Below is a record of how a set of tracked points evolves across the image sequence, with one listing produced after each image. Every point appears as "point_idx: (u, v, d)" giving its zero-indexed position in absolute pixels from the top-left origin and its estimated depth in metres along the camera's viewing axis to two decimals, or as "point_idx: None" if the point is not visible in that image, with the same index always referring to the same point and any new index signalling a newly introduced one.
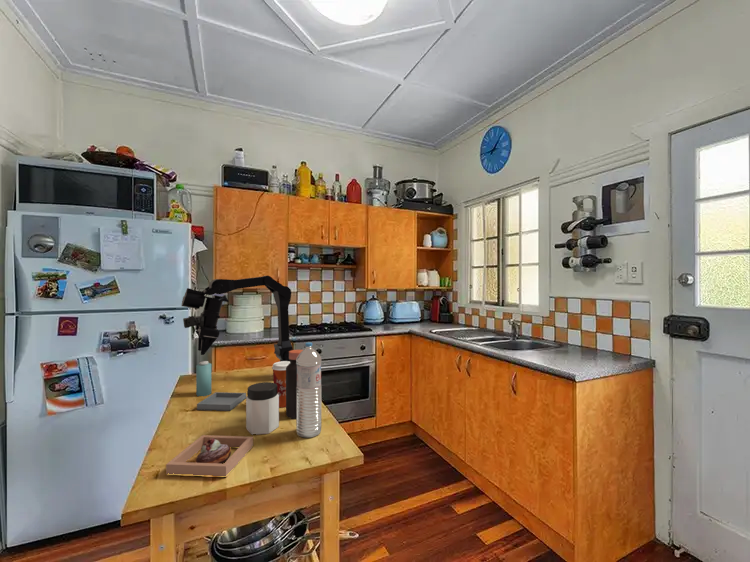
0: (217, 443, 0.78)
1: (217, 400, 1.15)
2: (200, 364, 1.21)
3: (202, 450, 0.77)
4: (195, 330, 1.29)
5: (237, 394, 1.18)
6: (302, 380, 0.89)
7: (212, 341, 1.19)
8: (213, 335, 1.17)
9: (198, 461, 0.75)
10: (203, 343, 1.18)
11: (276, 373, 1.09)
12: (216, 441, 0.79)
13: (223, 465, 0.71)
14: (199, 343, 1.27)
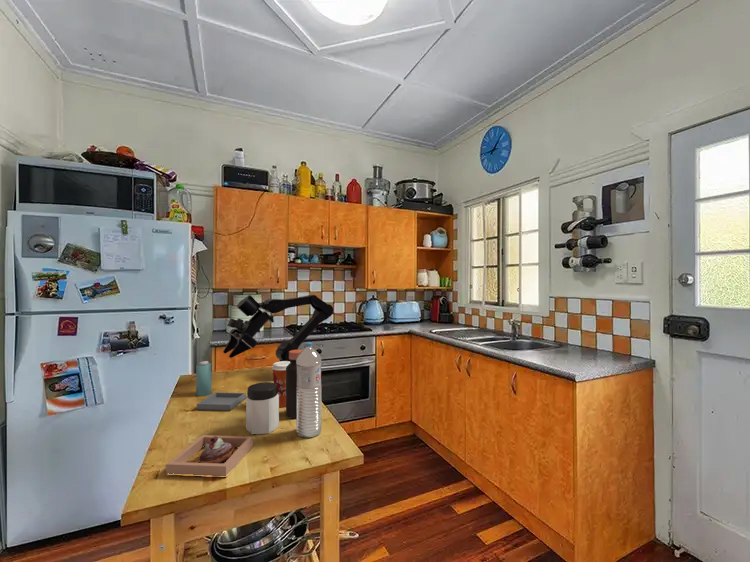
0: (220, 441, 0.79)
1: (217, 400, 1.15)
2: (200, 364, 1.21)
3: (205, 448, 0.78)
4: None
5: (237, 394, 1.18)
6: (302, 380, 0.89)
7: (245, 349, 1.26)
8: (251, 344, 1.24)
9: (201, 459, 0.76)
10: (237, 347, 1.24)
11: (276, 373, 1.09)
12: (219, 440, 0.79)
13: (223, 465, 0.71)
14: (227, 346, 1.32)
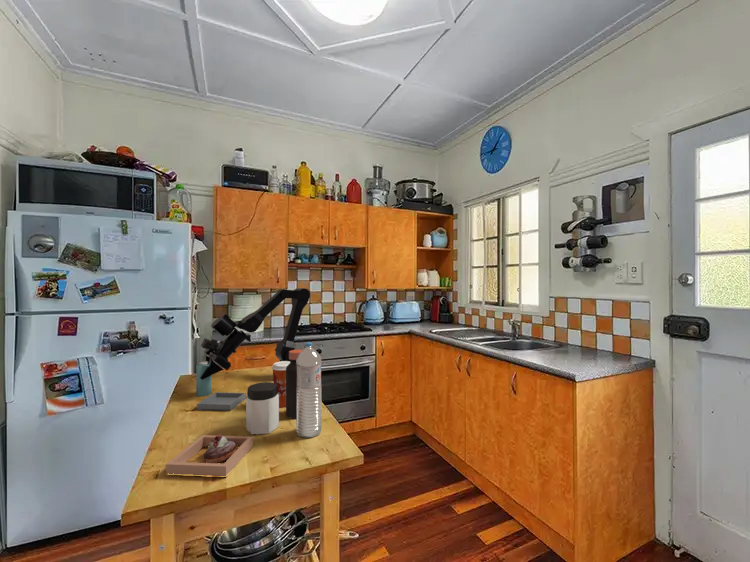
0: (224, 440, 0.80)
1: (217, 400, 1.15)
2: (200, 364, 1.21)
3: (209, 446, 0.79)
4: None
5: (237, 394, 1.18)
6: (302, 380, 0.89)
7: (217, 370, 1.21)
8: (224, 366, 1.18)
9: (206, 457, 0.77)
10: (209, 368, 1.20)
11: (276, 373, 1.09)
12: (223, 438, 0.80)
13: (223, 465, 0.71)
14: None
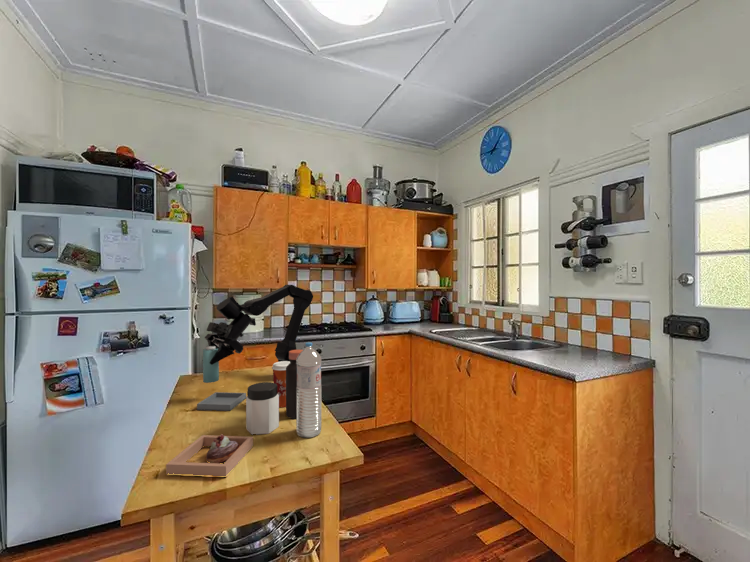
0: (226, 440, 0.80)
1: (217, 400, 1.15)
2: (208, 349, 1.15)
3: (212, 447, 0.79)
4: (207, 339, 1.22)
5: (237, 394, 1.18)
6: (302, 380, 0.89)
7: (227, 354, 1.17)
8: (238, 349, 1.15)
9: (208, 457, 0.77)
10: (219, 353, 1.15)
11: (276, 373, 1.09)
12: (226, 438, 0.80)
13: (223, 465, 0.71)
14: None
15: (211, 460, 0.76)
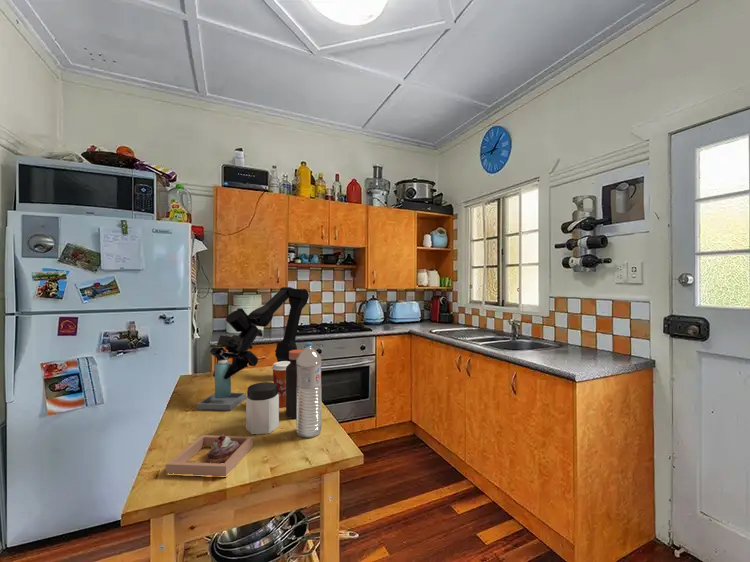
0: (228, 440, 0.80)
1: (217, 400, 1.15)
2: (220, 363, 1.11)
3: (213, 447, 0.79)
4: (215, 353, 1.17)
5: (237, 394, 1.18)
6: (302, 380, 0.89)
7: (241, 368, 1.14)
8: (254, 362, 1.13)
9: (210, 457, 0.77)
10: (233, 366, 1.12)
11: (276, 373, 1.09)
12: (227, 438, 0.80)
13: (223, 465, 0.71)
14: None
15: (213, 460, 0.76)
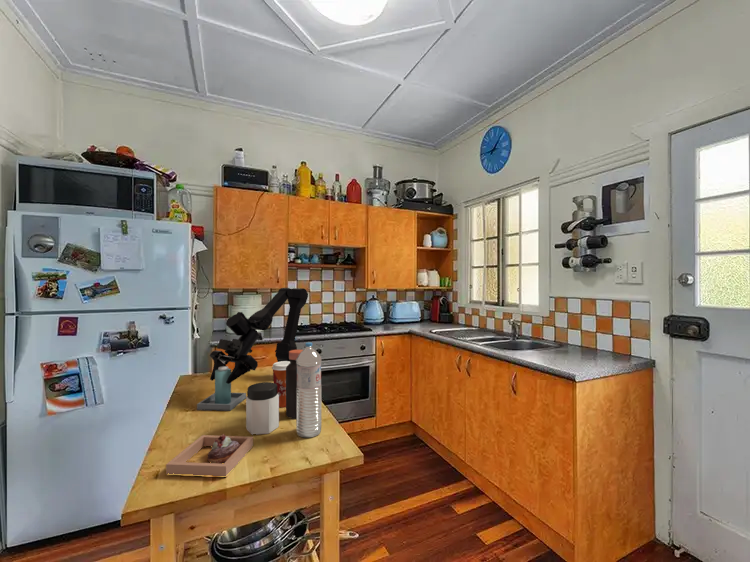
0: (228, 440, 0.80)
1: None
2: (221, 370, 1.11)
3: (213, 447, 0.79)
4: (212, 357, 1.17)
5: (237, 394, 1.18)
6: (302, 380, 0.89)
7: (243, 372, 1.14)
8: (253, 366, 1.13)
9: (210, 457, 0.77)
10: (236, 371, 1.11)
11: (276, 373, 1.09)
12: (227, 438, 0.80)
13: (223, 465, 0.71)
14: (214, 372, 1.15)
15: (213, 460, 0.76)
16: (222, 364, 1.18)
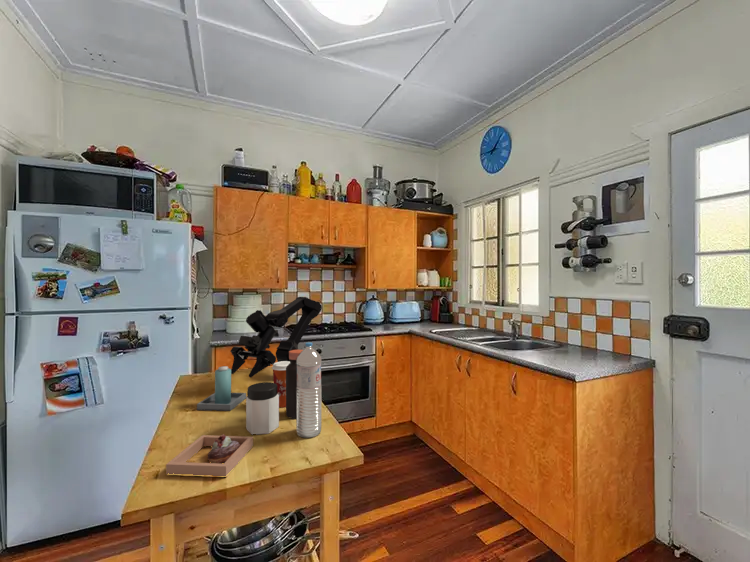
0: (228, 439, 0.80)
1: None
2: (221, 370, 1.11)
3: (213, 447, 0.79)
4: (232, 352, 1.26)
5: (237, 394, 1.18)
6: (302, 380, 0.89)
7: (264, 367, 1.21)
8: (272, 361, 1.21)
9: (210, 457, 0.77)
10: (257, 365, 1.19)
11: (276, 373, 1.09)
12: (227, 438, 0.80)
13: (223, 465, 0.71)
14: (234, 366, 1.23)
15: (213, 460, 0.76)
16: (241, 359, 1.26)
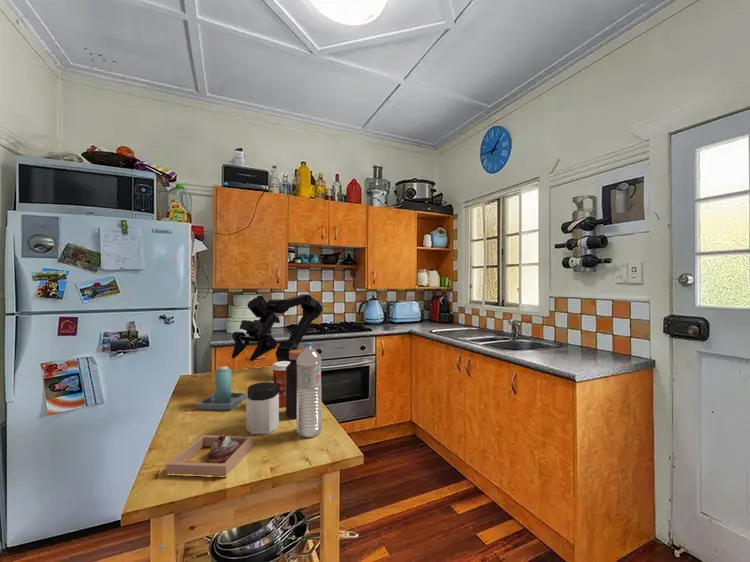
0: (228, 439, 0.80)
1: None
2: (221, 370, 1.11)
3: (213, 447, 0.79)
4: (233, 337, 1.26)
5: (237, 394, 1.18)
6: (302, 380, 0.89)
7: (265, 351, 1.22)
8: (273, 345, 1.22)
9: (210, 457, 0.77)
10: (258, 349, 1.20)
11: (276, 373, 1.09)
12: (227, 438, 0.80)
13: (223, 465, 0.71)
14: (235, 350, 1.23)
15: (213, 460, 0.76)
16: (242, 344, 1.27)
